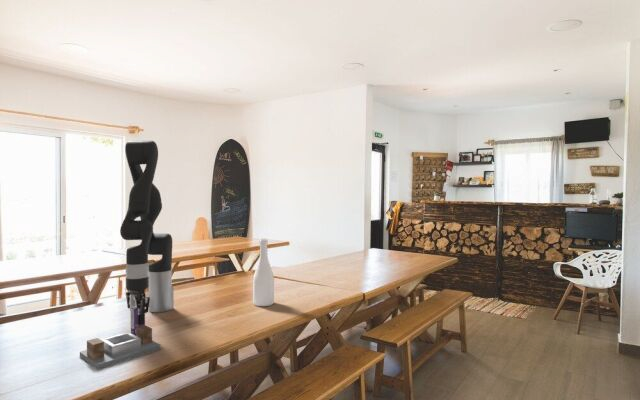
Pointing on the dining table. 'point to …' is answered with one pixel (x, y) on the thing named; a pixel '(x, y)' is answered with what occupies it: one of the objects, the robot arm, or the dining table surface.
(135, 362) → the dining table surface
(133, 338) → the socket
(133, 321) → the container
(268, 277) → the wine bottle
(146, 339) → the walnut blocks
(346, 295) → the dining table surface
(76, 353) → the dining table surface
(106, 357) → the base board
